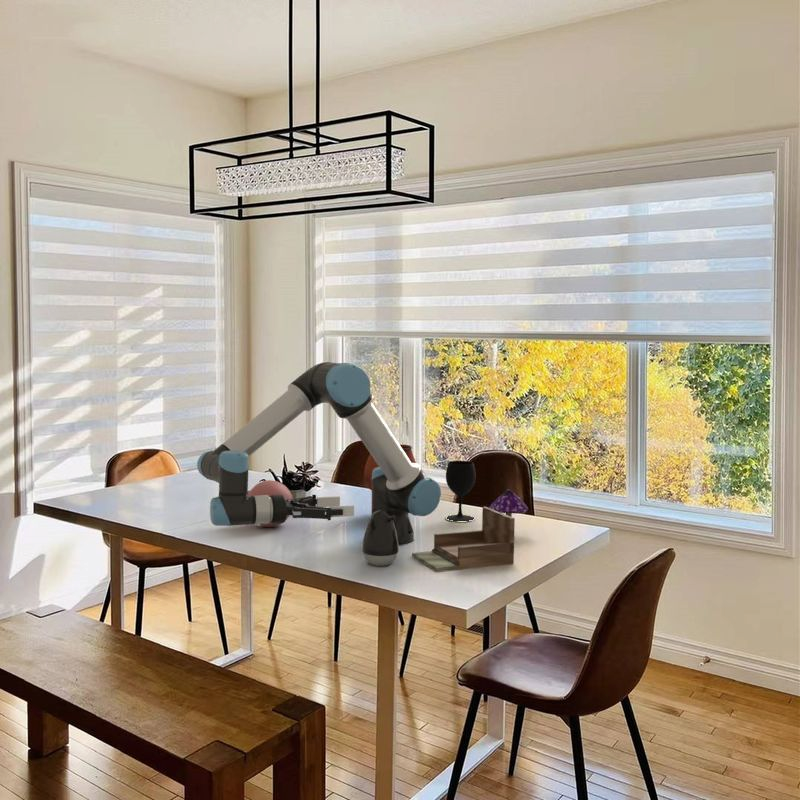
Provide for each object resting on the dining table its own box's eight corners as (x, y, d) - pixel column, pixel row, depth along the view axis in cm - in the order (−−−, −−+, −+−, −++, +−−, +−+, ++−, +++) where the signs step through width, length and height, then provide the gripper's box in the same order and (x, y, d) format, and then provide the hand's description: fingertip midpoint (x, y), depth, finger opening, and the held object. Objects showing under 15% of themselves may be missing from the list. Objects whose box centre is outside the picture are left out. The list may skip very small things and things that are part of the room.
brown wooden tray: (412, 556, 247) (412, 512, 246) (485, 549, 256) (486, 506, 255) (436, 571, 231) (437, 524, 230) (513, 563, 240) (514, 518, 239)
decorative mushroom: (529, 532, 279) (530, 487, 278) (525, 541, 267) (526, 494, 266) (492, 529, 282) (493, 485, 281) (485, 538, 270) (486, 491, 269)
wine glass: (465, 523, 291) (466, 465, 289) (439, 519, 296) (440, 463, 295) (480, 518, 299) (481, 462, 298) (454, 514, 305) (455, 459, 303)
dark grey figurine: (381, 571, 231) (382, 515, 230) (354, 563, 238) (355, 510, 237) (406, 563, 239) (407, 510, 237) (379, 556, 246) (380, 505, 244)
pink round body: (249, 518, 294) (249, 474, 293) (301, 523, 287) (301, 478, 286) (225, 527, 280) (225, 481, 278) (279, 533, 273) (279, 486, 272)
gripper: (260, 514, 238) (333, 510, 245) (279, 533, 215) (359, 529, 222) (261, 487, 238) (334, 484, 245) (280, 504, 214) (360, 500, 222)
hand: (346, 505), depth 234 cm, fingers open, 13 cm apart
